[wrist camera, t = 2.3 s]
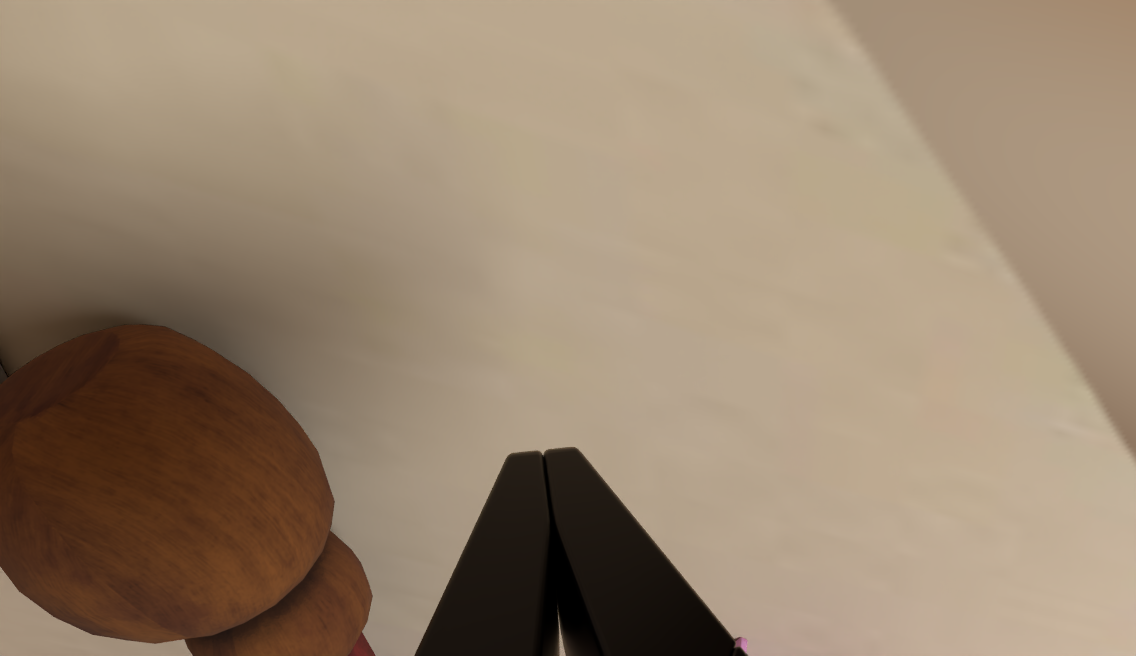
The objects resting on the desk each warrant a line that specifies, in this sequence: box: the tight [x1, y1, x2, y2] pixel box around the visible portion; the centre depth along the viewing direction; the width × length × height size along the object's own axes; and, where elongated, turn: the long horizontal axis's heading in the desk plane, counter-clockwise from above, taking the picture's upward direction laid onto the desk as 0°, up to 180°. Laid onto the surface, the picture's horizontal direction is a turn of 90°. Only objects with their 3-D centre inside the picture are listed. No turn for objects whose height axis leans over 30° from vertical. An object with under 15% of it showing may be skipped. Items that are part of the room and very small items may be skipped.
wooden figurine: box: [0, 325, 375, 656], centre depth 21 cm, size 7×6×15 cm
